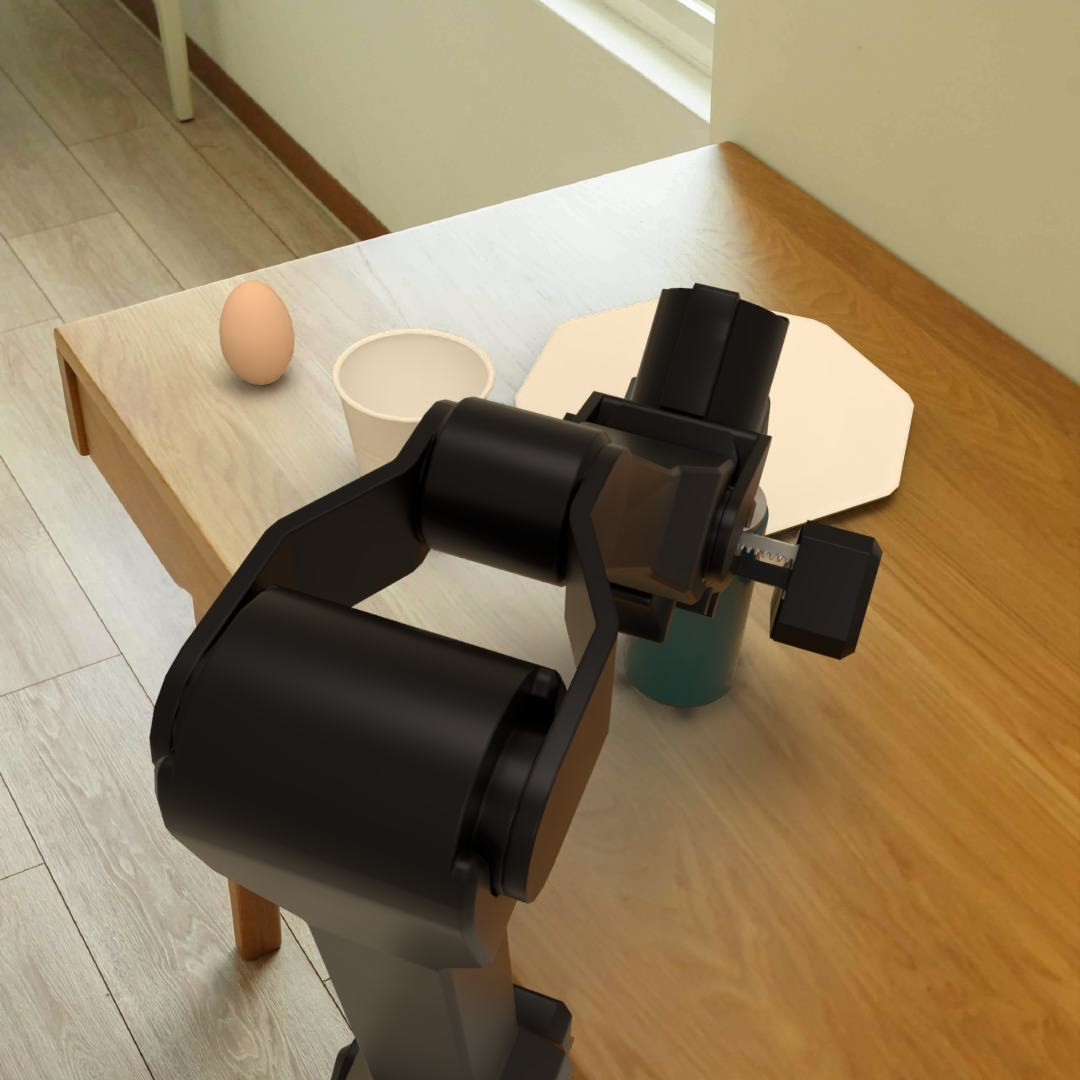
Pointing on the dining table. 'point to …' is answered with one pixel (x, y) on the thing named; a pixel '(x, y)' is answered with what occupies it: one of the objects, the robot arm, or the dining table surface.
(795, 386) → the plate
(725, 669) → the can
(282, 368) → the egg
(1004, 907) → the dining table surface
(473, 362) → the cup
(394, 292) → the dining table surface
